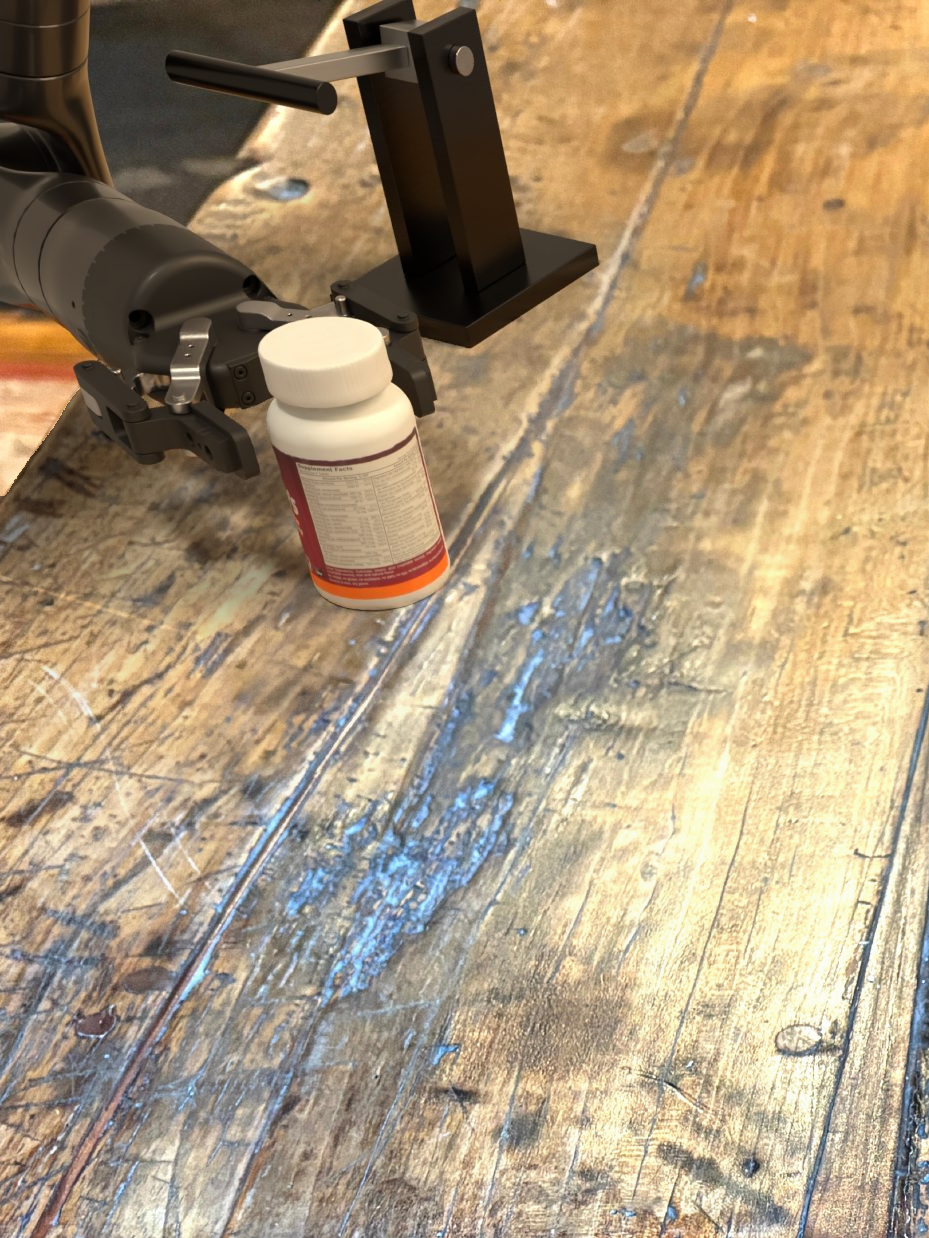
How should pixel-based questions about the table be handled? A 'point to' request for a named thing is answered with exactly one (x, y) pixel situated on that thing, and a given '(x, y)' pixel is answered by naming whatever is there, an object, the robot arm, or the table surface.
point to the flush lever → (299, 72)
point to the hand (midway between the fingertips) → (338, 425)
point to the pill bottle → (352, 464)
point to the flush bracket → (452, 187)
